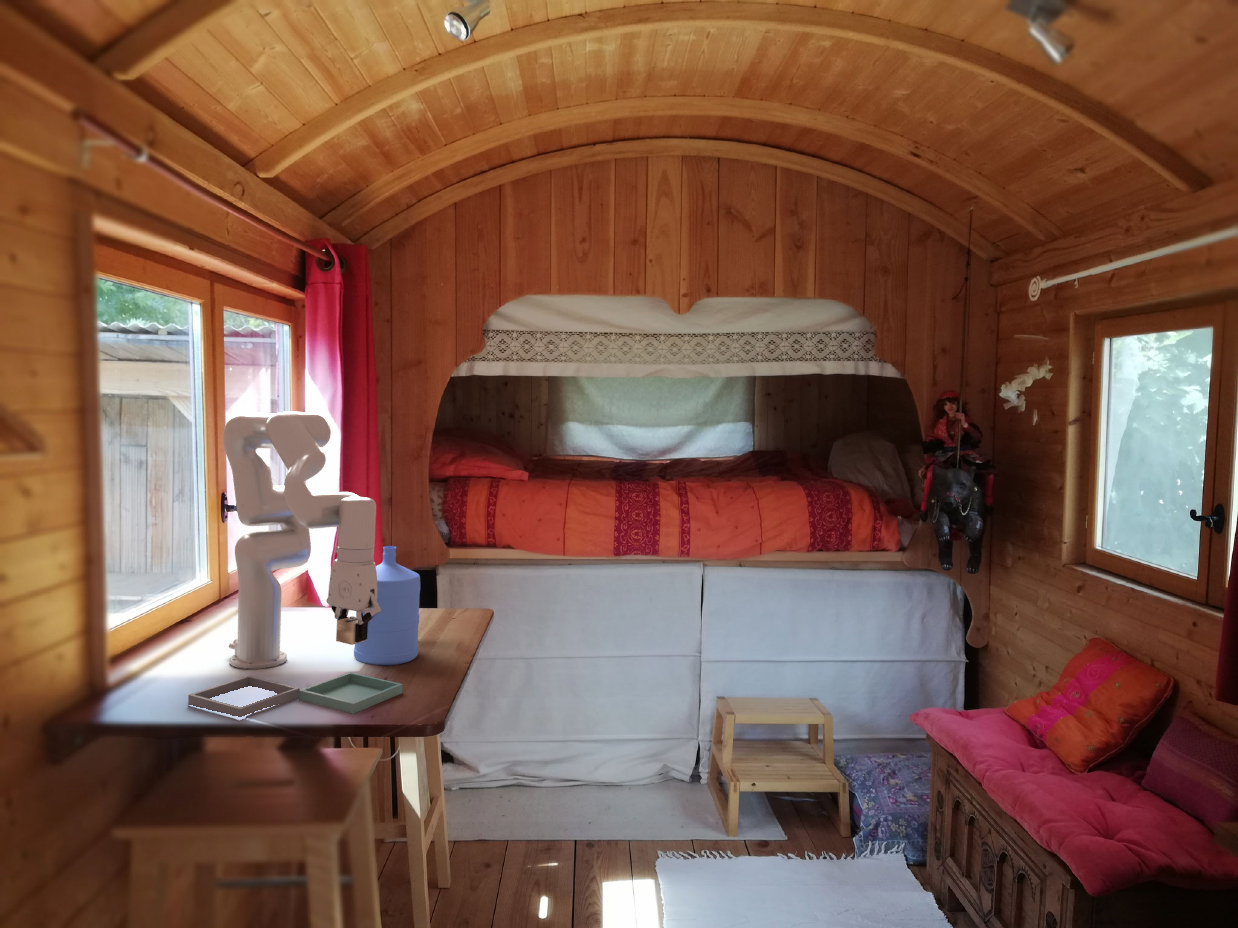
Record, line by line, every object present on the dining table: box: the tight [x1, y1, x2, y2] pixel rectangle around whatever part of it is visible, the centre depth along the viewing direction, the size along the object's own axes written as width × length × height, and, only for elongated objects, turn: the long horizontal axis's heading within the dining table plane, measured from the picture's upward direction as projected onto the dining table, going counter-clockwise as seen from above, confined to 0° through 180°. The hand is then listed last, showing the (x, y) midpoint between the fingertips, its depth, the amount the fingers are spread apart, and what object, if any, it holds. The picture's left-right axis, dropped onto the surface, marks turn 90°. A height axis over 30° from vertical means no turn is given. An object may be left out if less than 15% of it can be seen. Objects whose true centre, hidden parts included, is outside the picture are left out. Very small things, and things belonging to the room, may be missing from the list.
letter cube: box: [335, 615, 366, 646], centre depth 179 cm, size 4×4×5 cm
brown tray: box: [187, 675, 300, 717], centre depth 174 cm, size 15×15×2 cm
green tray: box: [298, 671, 403, 715], centre depth 180 cm, size 15×15×2 cm
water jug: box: [353, 545, 421, 666], centre depth 209 cm, size 16×16×28 cm
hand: (351, 637), depth 179 cm, fingers closed on letter cube, 4 cm apart
